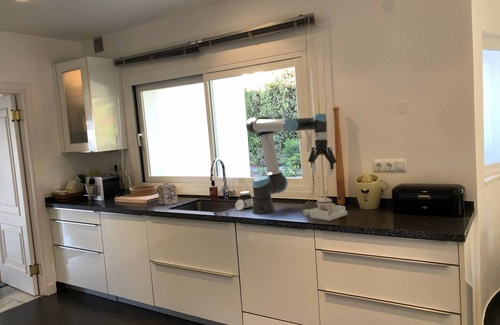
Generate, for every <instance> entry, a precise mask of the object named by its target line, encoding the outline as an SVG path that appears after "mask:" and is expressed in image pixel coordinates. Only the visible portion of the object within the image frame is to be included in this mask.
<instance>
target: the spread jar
mask: <svg viewBox="0 0 500 325" xmlns="http://www.w3.org/2000/svg"><path fill="white" fill-rule="evenodd" d="M239 194H240V195H239V196H238V200H237V201H236V202H235V208H236V210H239V211H241V210H248V208H249V209H251V208H253V204H254V198H253V195H251V193H250V191H249V190H245V191H240V192H239Z"/></svg>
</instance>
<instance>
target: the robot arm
mask: <svg viewBox="0 0 500 325" xmlns="http://www.w3.org/2000/svg"><path fill="white" fill-rule="evenodd" d="M327 122H328V120H327V114H326V113H315V114H314V115H313V117H299V118H277V119H274V118H272V117H271V116H256V117H255V116H253V117H251V118H249V119H248V120H246V124H245V127H246V130H247V131H248V133H250V134H252V135H257V137H258V138H259V140H260V142H261V147H262V152H263V157H264V162H265V168H266V171H267V172H266V175H263V176H258V177H255V178H254V179H253V180H252V190H253V205H252V207H251V208H252V209H251V212H252V214H254V213H255V215H268V214H271V213H274V212H275V211H276V210H275V206H274V203H273V200H272V195H274V194H281V193H283V192H285V191H286V189H287V188H288V182H289V181H288V179H287V177H286V176H285V175H283V172H282V171H281V170H280V167H279V166H280V165H279V161H278V157H277V151H276V146H275V142H274V141H275V140H274V135H275V132H299V131H312V130H313V131H314V139H315V140H314V145H315V146H312V147H311V151H310V154H309V157H308V160H307V162H309V163H310V168H311V174H316V173H317V169H316V168H317V166H316V160H317V158H318V157H319V156H320V155H322V156H324V157H325V158H326V160H327V161H328V163H329V164H328V174H329V175H328V176H332V175H334V169H335V168H334V167H335V164H336V163H337V159H336V157H335V155H334V153H333V149H332V147H331V146H330V147H328V144H329V143H328V128H327V127H328V123H327Z"/></svg>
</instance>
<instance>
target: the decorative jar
mask: <svg viewBox="0 0 500 325" xmlns="http://www.w3.org/2000/svg"><path fill="white" fill-rule="evenodd" d="M157 192H158V193H157V194H158V203H162V204H171V203H176V202H178V200H179V199H178V190H177V187H176V185H175V183H170V181H165V182H163V184H161V185H159V186H158V187H157ZM176 204H177V203H176ZM171 205H172V204H171Z"/></svg>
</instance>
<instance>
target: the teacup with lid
mask: <svg viewBox="0 0 500 325" xmlns="http://www.w3.org/2000/svg"><path fill="white" fill-rule="evenodd" d="M316 203H317V208H318V210H321V211H328V216H330V215H333V212H334V211H335V210H336V205H337V204H335V203H333V199H331V198H329V197H327V196H326V195H322V197H321V198H319V199H317V201H316ZM332 205H334V207H335V208H334V210H332Z"/></svg>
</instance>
